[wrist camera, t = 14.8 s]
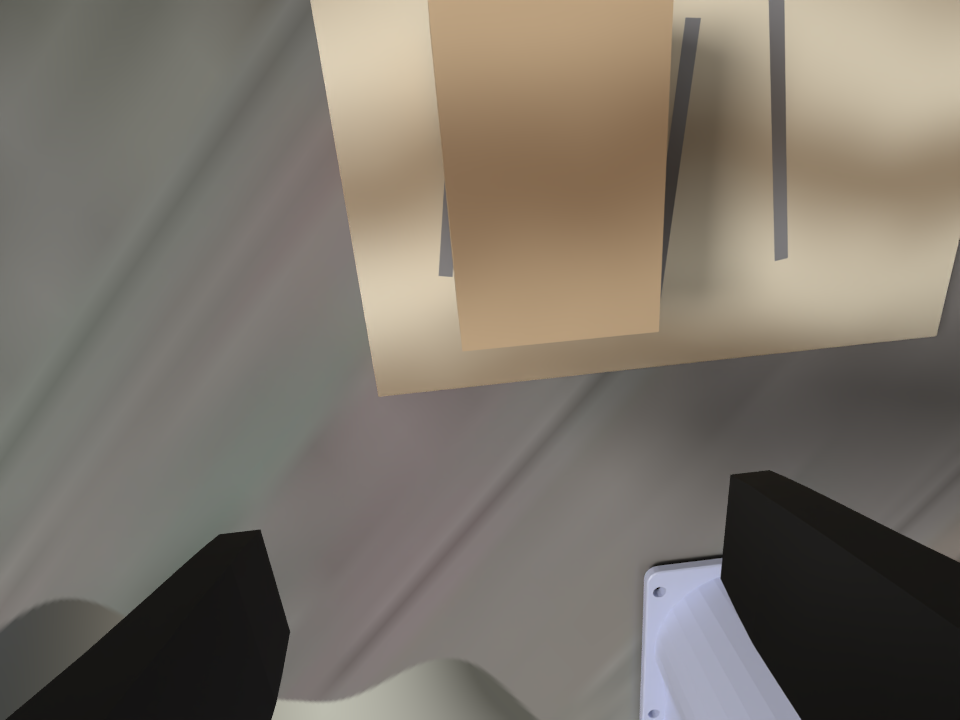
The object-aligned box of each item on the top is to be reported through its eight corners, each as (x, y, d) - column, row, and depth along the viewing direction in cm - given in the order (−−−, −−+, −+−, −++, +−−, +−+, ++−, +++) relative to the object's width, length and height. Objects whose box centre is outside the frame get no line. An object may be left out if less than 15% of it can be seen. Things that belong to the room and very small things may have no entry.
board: (906, 325, 18) (936, 336, 17) (382, 381, 18) (378, 396, 17) (999, -111, 14) (1048, -134, 13) (308, -57, 13) (297, -76, 12)
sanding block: (607, 290, 16) (658, 331, 12) (456, 304, 16) (462, 351, 12) (609, 17, 13) (675, -36, 10) (430, 31, 13) (425, -17, 9)
